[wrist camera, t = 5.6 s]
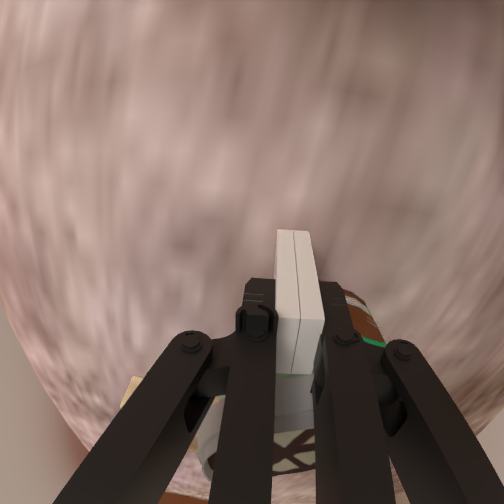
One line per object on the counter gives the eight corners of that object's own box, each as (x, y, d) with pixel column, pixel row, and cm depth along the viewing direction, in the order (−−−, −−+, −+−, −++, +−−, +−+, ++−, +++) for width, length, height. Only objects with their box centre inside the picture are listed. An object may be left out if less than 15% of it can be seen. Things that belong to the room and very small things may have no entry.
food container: (317, 221, 16) (352, 369, 8) (382, 287, 18) (435, 426, 9) (185, 339, 21) (145, 464, 13) (250, 379, 23) (236, 498, 14)
